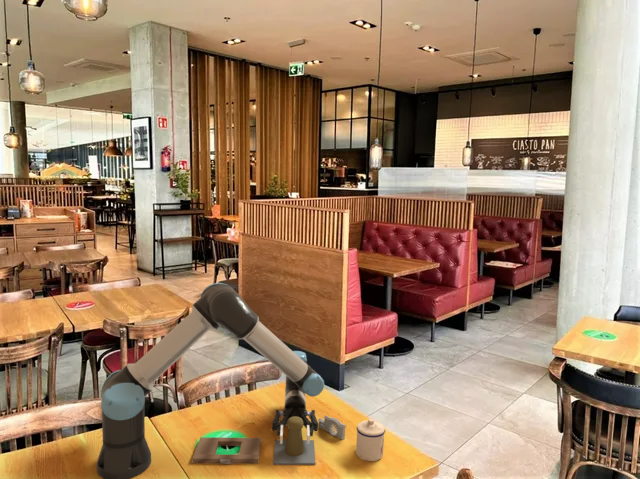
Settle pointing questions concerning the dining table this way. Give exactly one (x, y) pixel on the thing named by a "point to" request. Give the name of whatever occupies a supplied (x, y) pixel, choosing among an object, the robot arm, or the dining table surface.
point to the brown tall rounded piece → (294, 437)
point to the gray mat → (302, 459)
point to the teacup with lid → (370, 440)
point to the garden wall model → (328, 427)
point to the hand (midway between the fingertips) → (294, 439)
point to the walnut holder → (208, 455)
